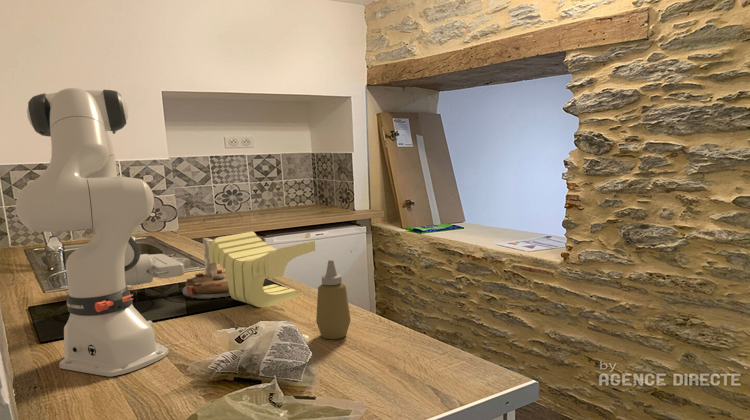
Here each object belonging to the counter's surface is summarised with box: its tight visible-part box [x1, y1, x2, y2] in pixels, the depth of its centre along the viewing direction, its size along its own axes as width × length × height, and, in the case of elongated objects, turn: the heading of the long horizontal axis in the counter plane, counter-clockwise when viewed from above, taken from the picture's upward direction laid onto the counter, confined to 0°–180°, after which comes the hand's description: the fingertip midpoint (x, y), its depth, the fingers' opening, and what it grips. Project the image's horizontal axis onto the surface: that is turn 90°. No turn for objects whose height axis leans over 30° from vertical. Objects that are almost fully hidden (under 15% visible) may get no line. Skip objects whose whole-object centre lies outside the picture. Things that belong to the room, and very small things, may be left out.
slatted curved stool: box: [209, 231, 316, 309], centre depth 149 cm, size 30×16×18 cm, turn 48°
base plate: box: [182, 285, 230, 300], centre depth 163 cm, size 22×22×3 cm
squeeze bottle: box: [315, 259, 352, 340], centre depth 119 cm, size 8×8×18 cm
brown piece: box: [186, 237, 229, 294], centre depth 162 cm, size 19×19×14 cm
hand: (189, 261), depth 163 cm, fingers closed
